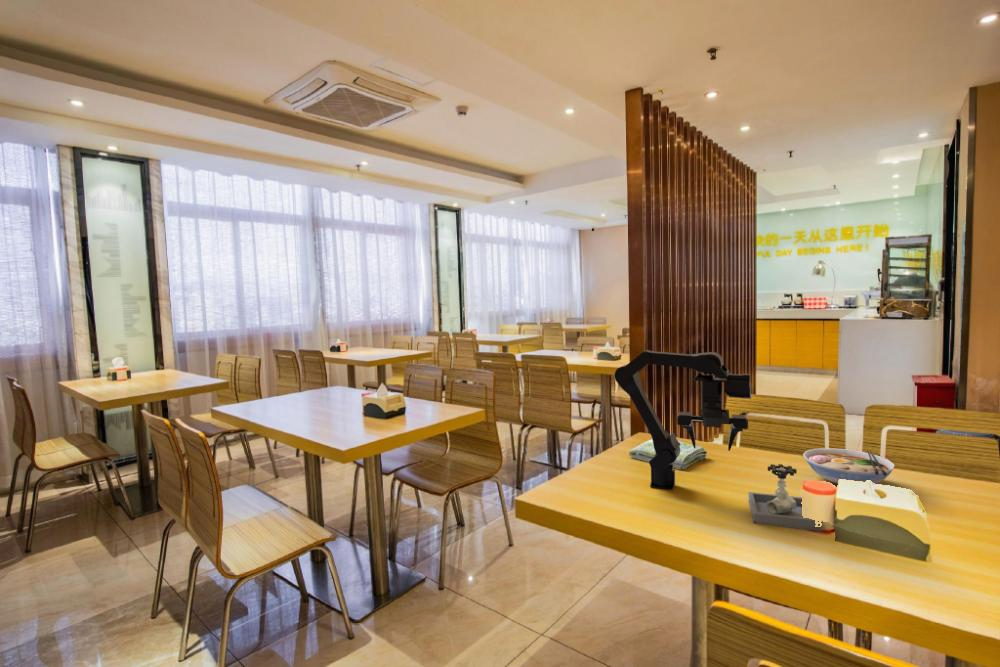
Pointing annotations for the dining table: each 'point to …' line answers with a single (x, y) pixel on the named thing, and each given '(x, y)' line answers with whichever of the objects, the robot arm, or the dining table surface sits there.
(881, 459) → the ramen bowl
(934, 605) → the dining table surface
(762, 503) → the parts tray
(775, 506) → the valve
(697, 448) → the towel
